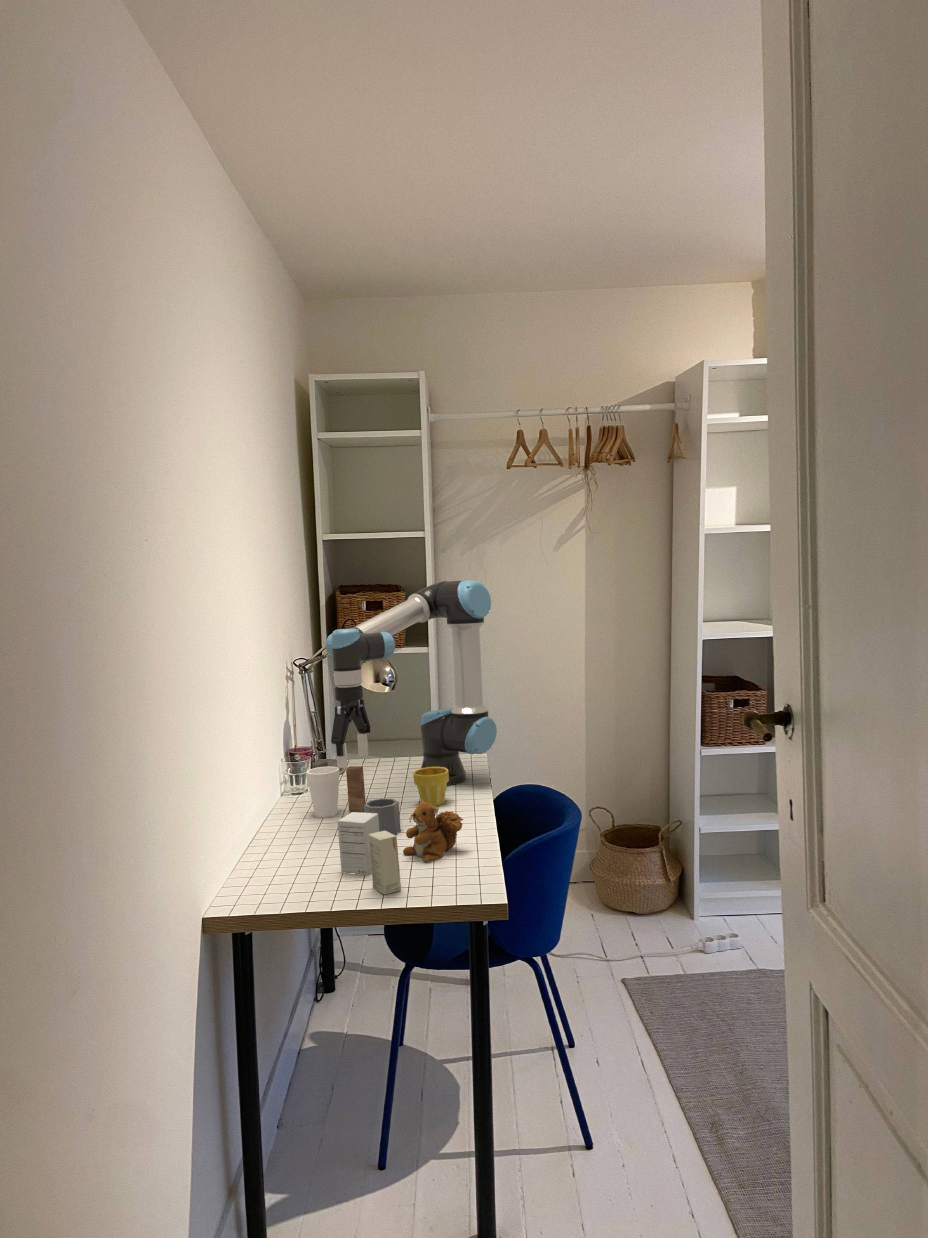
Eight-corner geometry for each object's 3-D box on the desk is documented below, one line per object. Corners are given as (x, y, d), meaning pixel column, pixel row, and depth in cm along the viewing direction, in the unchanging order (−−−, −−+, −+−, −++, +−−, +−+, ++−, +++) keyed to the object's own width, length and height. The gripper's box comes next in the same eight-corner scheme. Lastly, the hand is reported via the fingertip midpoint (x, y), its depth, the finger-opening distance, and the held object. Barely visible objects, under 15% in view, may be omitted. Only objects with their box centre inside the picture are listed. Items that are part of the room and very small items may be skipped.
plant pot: (428, 810, 253) (426, 777, 253) (408, 803, 262) (406, 771, 261) (457, 803, 259) (455, 770, 259) (437, 796, 268) (435, 764, 267)
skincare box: (401, 891, 192) (398, 836, 191) (383, 896, 190) (380, 840, 189) (389, 882, 198) (385, 829, 197) (371, 887, 196) (367, 833, 195)
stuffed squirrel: (399, 855, 216) (396, 802, 215) (448, 842, 224) (444, 791, 223) (420, 865, 208) (416, 810, 207) (470, 851, 215) (466, 798, 215)
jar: (375, 827, 241) (373, 798, 240) (404, 828, 238) (402, 799, 237) (361, 837, 232) (359, 807, 232) (392, 838, 230) (389, 808, 229)
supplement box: (355, 862, 213) (351, 811, 212) (382, 865, 210) (379, 812, 209) (340, 873, 206) (336, 820, 205) (368, 876, 203) (364, 822, 202)
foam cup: (335, 819, 250) (332, 774, 250) (305, 819, 252) (301, 774, 251) (346, 809, 260) (343, 766, 259) (317, 809, 262) (313, 766, 261)
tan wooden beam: (353, 822, 246) (349, 766, 245) (366, 823, 245) (362, 766, 243) (350, 825, 243) (346, 768, 242) (363, 826, 242) (359, 768, 241)
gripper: (355, 679, 254) (359, 752, 256) (314, 692, 231) (320, 772, 232) (379, 679, 252) (383, 752, 253) (340, 692, 228) (345, 772, 230)
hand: (353, 762), depth 243 cm, fingers open, 13 cm apart
